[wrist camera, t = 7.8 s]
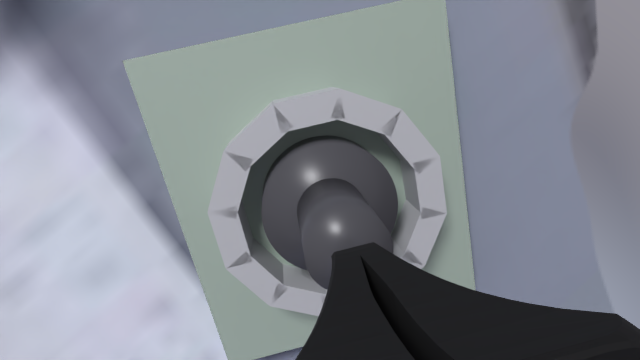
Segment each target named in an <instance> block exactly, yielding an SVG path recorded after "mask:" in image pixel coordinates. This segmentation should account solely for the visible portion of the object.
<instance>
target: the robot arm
mask: <svg viewBox="0 0 640 360" xmlns="http://www.w3.org/2000/svg"><path fill="white" fill-rule="evenodd" d="M331 258H332V270H331V277H330V281H329V286H328V290H327V294H326V297H325V300H324V303H323V306H322V309H321V312H320V314H319V317H318V319H317V321H316V324H315V326H314V328H313V330H312V332H311V334H310V336H309V338H308V339H307V341H306V343H305V345H304V347H303V348H302V350H301V352H300V353H299V355H298V356H297V358H296V360H640V329H638V328H637V327H636V326H634V325H633V324H631V323H630V322H628V321H627V320H625V319H624V318H622V317H621V316H619V315H618V314H612V313H602V312H591V311H581V310H570V309H561V308H554V307H548V306H541V305H535V304H529V303H524V302H519V301H514V300H509V299H505V298H501V297H497V296H493V295H489V294H485V293H482V292H479V291H475V290H472V289H469V288H466V287H463V286H460V285H457V284H455V283H452V282H449V281H447V280H444V279H442V278H439V277H437V276H435V275H433V274H430V273H428V272H426V271H424V270H422V269H420V268H418V267H416V266H414V265H412V264H410V263H408V262H406V261H405V260H403V259H401V258H399V257H398V256H396V255H394V254H392V253H391V252H389V251H387V250H386V249H384V248H383V247H381V246H379V245H378V244H376V243H374V242H372V243H368V244H364V245H360V246H356V247H352V248H348V249H344V250H340V251H336V252H334V253H333V254H332V256H331Z"/></svg>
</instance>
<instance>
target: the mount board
mask: <svg viewBox="0 0 640 360" xmlns="http://www.w3.org/2000/svg"><path fill="white" fill-rule="evenodd" d="M123 63H124V66H125V69H126V72H127V75H128V78H129V80H130V83H131V86H132V89H133V92H134V95H135V97H136V100H137V103H138V106H139V109H140V112H141V114H142V117H143V120H144V123H145V126H146V129H147V132H148V134H149V137H150V140H151V143H152V146H153V149H154V151H155V154H156V157H157V160H158V163H159V166H160V168H161V171H162V174H163V177H164V180H165V183H166V185H167V188H168V191H169V194H170V197H171V200H172V202H173V205H174V208H175V211H176V214H177V217H178V219H179V222H180V225H181V228H182V231H183V234H184V236H185V239H186V242H187V245H188V248H189V251H190V253H191V256H192V259H193V262H194V265H195V268H196V270H197V273H198V276H199V279H200V282H201V285H202V287H203V290H204V293H205V296H206V299H207V302H208V304H209V307H210V310H211V313H212V316H213V319H214V321H215V324H216V327H217V330H218V333H219V336H220V339H221V341H222V344H223V347H224V350H225V353H226V356H227V358H228V360H254V359H258V358H262V357H265V356H269V355H273V354H277V353H280V352H284V351H288V350H292V349H295V348H299V347H303V346H304V345H305V343H306V341H307V339H308V338H309V336H310V334H311V332H312V330H313V328H314V326H315V324H316V321H317V319H318V317H319V314H320V312H321V309H322V306H323V303H324V300H325V297H326V294H327V289H325V288H323V287H321V286H320V285H319V284H317V283H316V282H315V281H314V280H313V278H312V277H311V276H310V274H309V272H308V271H307V270H304V269H301V268H299V267H297V266H294V265H293V264H291V263H289V262H288V261H286V260H285V259H284V258H283V257H281V256H280V255H279V254H278V253H277V251H276V250H275V249H274V248H273V246H272V245H271V244H270V242H269V240H268V238H267V236H266V233H265V231H264V227H263V223H262V213H261V210H262V195H263V186H264V182H265V179H266V176H267V173H268V171H269V169H270V167H271V166H272V164H273V163H274V161H275V160H276V159H277V158H278V157H279V156H280V154H281V153H283V152H284V151H285V150H286V149H287V148H289V147H290V146H292V145H293V144H295V143H297V142H299V141H301V140H304V139H307V138H310V137H315V136H326V135H329V136H338V137H342V138H346V139H348V140H351V141H353V142H355V143H357V144H359V145H360V146H361V147H363V148H364V149H366V150H367V151H368V152H369V153H370V154H372V155H373V156H374V157H375V158H377V159H378V160H379V161H380V162H381V163H382V164H383V165H384V167H385V168H386V169H387V171H388V172H389V174H390V176H391V177H392V179H393V182H394V184H395V187H396V191H397V197H398V212H397V218H396V222H395V225H394V228H393V230H392V232H391V237H392V241H393V254H394V255H396V256H398V257H399V258H401V259H403V260H405V261H406V262H408V263H410V264H412V265H414V266H416V267H418V268H420V269H422V270H424V271H426V272H428V273H430V274H433V275H435V276H437V277H439V278H442V279H444V280H447V281H449V282H452V283H455V284H457V285H460V286H463V287H466V288H469V289H472V290H475V281H474V271H473V262H472V252H471V242H470V233H469V223H468V214H467V204H466V194H465V185H464V175H463V166H462V156H461V146H460V137H459V127H458V118H457V108H456V98H455V89H454V79H453V69H452V60H451V50H450V41H449V31H448V21H447V12H446V2H445V0H401V1H397V2H392V3H387V4H383V5H378V6H373V7H369V8H364V9H360V10H355V11H350V12H346V13H341V14H337V15H332V16H327V17H323V18H318V19H313V20H309V21H304V22H300V23H295V24H290V25H286V26H281V27H277V28H272V29H267V30H263V31H258V32H253V33H249V34H244V35H240V36H235V37H230V38H226V39H221V40H216V41H212V42H207V43H203V44H198V45H193V46H189V47H184V48H180V49H175V50H170V51H166V52H161V53H156V54H152V55H147V56H143V57H138V58H133V59H129V60H124V61H123Z"/></svg>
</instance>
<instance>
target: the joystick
mask: <svg viewBox="0 0 640 360" xmlns="http://www.w3.org/2000/svg"><path fill="white" fill-rule="evenodd" d="M397 212H398V197H397V191H396V187H395V184H394V182H393V179H392V177H391V176H390V174H389V172H388V171H387V169H386V168H385V167H384V165H383V164H382V163H381V162H380V161H379V160H378V159H377V158H375V157H374V156H373V155H372V154H370V153H369V152H368V151H367V150H366V149H364V148H363V147H361V146H360V145H359V144H357V143H355V142H353V141H351V140H348V139H346V138H342V137H338V136H329V135H326V136H315V137H310V138H307V139H304V140H301V141H299V142H297V143H295V144H293V145H292V146H290V147H289V148H287V149H286V150H285V151H284V152H283V153H281V154H280V156H279V157H278V158H277V159H276V160H275V161H274V163H273V164H272V166H271V167H270V169H269V171H268V173H267V176H266V179H265V182H264V186H263V195H262V210H261V213H262V223H263V227H264V231H265V233H266V236H267V238H268V240H269V242H270V244H271V245H272V246H273V248H274V249H275V250H276V251H277V253H278V254H279V255H280V256H281V257H283V258H284V259H285V260H286V261H288V262H289V263H291V264H293V265H294V266H297V267H299V268H301V269H304V270H307V271H308V272H309V274H310V276H311V277H312V278H313V280H314V281H315V282H316V283H317V284H319V285H320V286H321V287H323V288H325V289H327V290H328V286H329V281H330V277H331V270H332V258H331V256H332V254H333V253H334V252H336V251H340V250H344V249H348V248H352V247H356V246H360V245H364V244H368V243H372V242H374V243H376V244H378V245H379V246H381V247H383V248H384V249H386V250H387V251H389V252H391V253H392V254H393V241H392V237H391V232H392V230H393V228H394V225H395V222H396V218H397Z"/></svg>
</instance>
